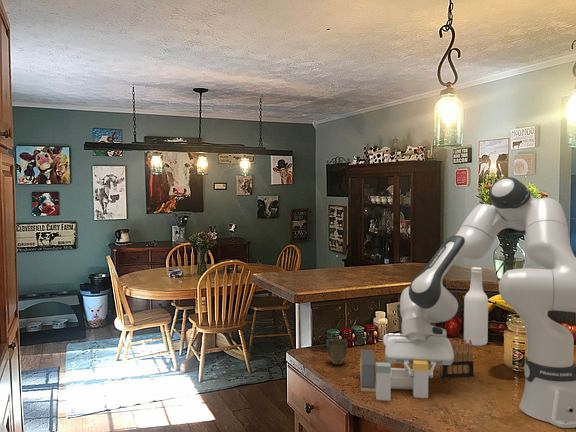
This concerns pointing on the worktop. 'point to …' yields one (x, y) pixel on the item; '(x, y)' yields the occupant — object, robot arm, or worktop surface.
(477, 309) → the white bottle
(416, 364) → the block
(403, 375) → the parts tray
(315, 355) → the worktop surface
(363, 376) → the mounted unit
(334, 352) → the cup
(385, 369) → the block
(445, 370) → the ammunition clip
